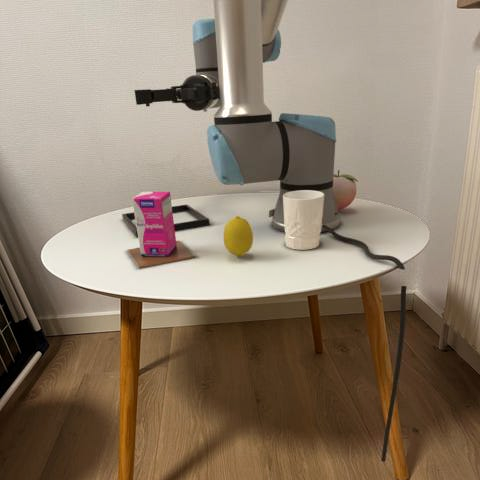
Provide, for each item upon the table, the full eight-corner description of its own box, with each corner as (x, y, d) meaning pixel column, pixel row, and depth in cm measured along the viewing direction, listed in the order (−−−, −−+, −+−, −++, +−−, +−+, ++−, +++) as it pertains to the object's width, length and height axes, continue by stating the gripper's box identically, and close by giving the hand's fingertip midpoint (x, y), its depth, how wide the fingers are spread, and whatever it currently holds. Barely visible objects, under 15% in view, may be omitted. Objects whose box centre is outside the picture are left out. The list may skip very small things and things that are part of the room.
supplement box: (140, 257, 84) (130, 198, 79) (151, 247, 89) (142, 191, 84) (168, 257, 83) (160, 197, 78) (177, 247, 88) (170, 190, 83)
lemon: (244, 264, 79) (242, 221, 75) (219, 259, 82) (216, 218, 78) (259, 254, 83) (257, 213, 79) (234, 251, 86) (232, 211, 82)
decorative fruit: (316, 216, 105) (317, 173, 100) (318, 207, 112) (320, 167, 107) (355, 216, 103) (359, 173, 98) (355, 208, 110) (359, 167, 105)
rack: (209, 225, 103) (209, 218, 102) (136, 237, 97) (135, 231, 97) (187, 209, 118) (186, 204, 117) (122, 219, 112) (121, 214, 111)
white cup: (321, 251, 83) (323, 199, 78) (280, 250, 85) (280, 199, 80) (322, 238, 90) (324, 189, 85) (285, 238, 91) (285, 190, 87)
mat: (194, 257, 84) (194, 255, 84) (138, 268, 80) (138, 266, 80) (178, 242, 93) (178, 240, 92) (127, 251, 89) (127, 249, 89)
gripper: (250, 107, 104) (228, 113, 86) (155, 112, 110) (115, 118, 92) (249, 72, 100) (225, 70, 82) (150, 78, 106) (108, 78, 88)
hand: (167, 95), depth 87 cm, fingers open, 13 cm apart
